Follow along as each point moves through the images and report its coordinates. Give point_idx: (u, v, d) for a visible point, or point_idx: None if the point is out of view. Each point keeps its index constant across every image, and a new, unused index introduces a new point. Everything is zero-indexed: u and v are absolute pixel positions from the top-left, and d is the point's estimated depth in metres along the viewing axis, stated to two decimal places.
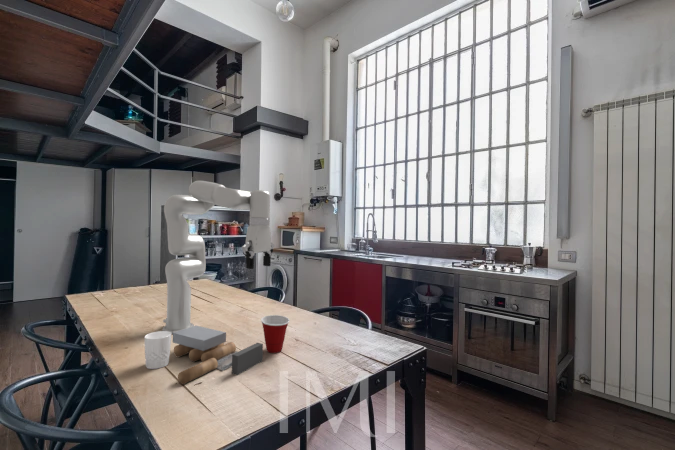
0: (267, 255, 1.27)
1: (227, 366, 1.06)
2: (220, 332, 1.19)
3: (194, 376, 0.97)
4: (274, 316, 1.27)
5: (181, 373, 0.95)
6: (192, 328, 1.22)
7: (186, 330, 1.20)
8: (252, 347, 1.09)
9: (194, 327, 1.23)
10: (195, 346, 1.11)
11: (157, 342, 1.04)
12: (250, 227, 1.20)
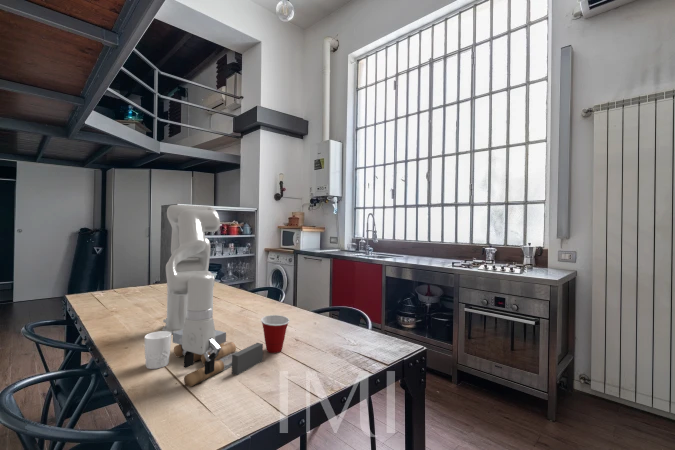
0: (190, 352, 1.03)
1: (227, 366, 1.06)
2: (220, 332, 1.19)
3: None
4: (274, 316, 1.27)
5: (189, 385, 0.94)
6: None
7: None
8: (252, 347, 1.09)
9: None
10: None
11: (157, 342, 1.04)
12: (209, 322, 0.98)
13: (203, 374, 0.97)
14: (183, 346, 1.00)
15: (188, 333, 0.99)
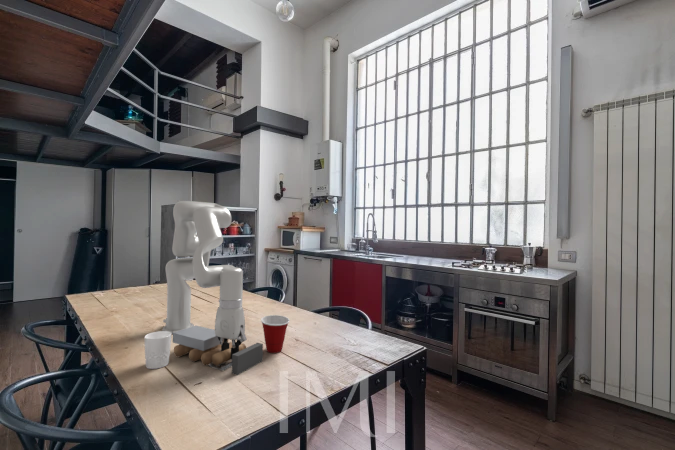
0: (226, 343, 1.12)
1: (227, 366, 1.06)
2: None
3: None
4: (274, 316, 1.27)
5: (218, 361, 1.05)
6: (192, 328, 1.22)
7: (186, 330, 1.20)
8: (252, 347, 1.09)
9: (194, 327, 1.23)
10: (195, 346, 1.11)
11: (157, 342, 1.04)
12: (240, 311, 1.08)
13: (226, 351, 1.09)
14: (216, 332, 1.10)
15: (221, 321, 1.09)
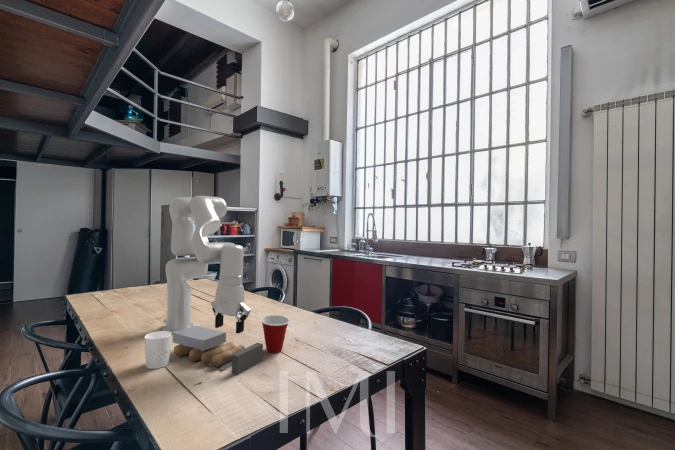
0: (220, 314, 1.14)
1: (227, 366, 1.06)
2: (220, 332, 1.19)
3: None
4: (274, 316, 1.27)
5: (217, 362, 1.05)
6: (192, 328, 1.22)
7: (186, 330, 1.20)
8: (252, 347, 1.09)
9: (194, 327, 1.23)
10: (195, 346, 1.11)
11: (157, 342, 1.04)
12: (240, 288, 1.09)
13: (224, 352, 1.09)
14: (216, 309, 1.10)
15: (221, 297, 1.09)
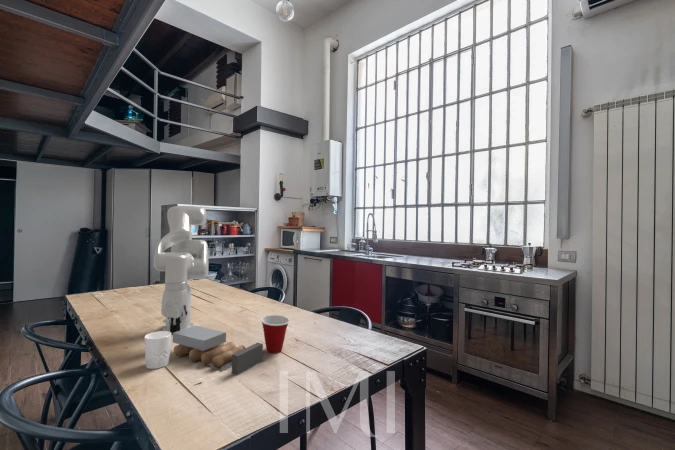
0: None
1: (227, 366, 1.06)
2: (220, 332, 1.19)
3: None
4: (274, 316, 1.27)
5: (218, 363, 1.05)
6: (192, 328, 1.22)
7: (186, 330, 1.20)
8: (252, 347, 1.09)
9: (194, 327, 1.23)
10: (195, 346, 1.11)
11: (157, 342, 1.04)
12: (183, 292, 1.21)
13: (226, 353, 1.09)
14: (162, 312, 1.23)
15: (166, 301, 1.22)
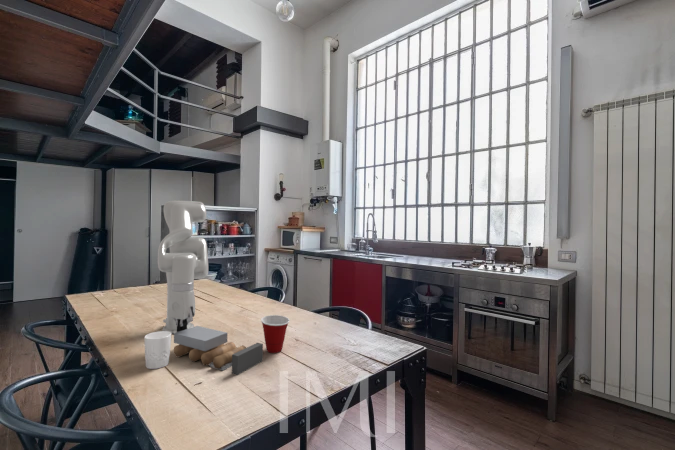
0: None
1: (227, 366, 1.06)
2: (221, 332, 1.18)
3: None
4: (274, 316, 1.27)
5: (219, 365, 1.05)
6: (193, 328, 1.22)
7: (187, 330, 1.19)
8: (252, 347, 1.09)
9: (195, 327, 1.23)
10: (196, 346, 1.11)
11: (157, 342, 1.04)
12: (190, 293, 1.20)
13: (227, 354, 1.08)
14: (169, 313, 1.21)
15: (173, 302, 1.20)
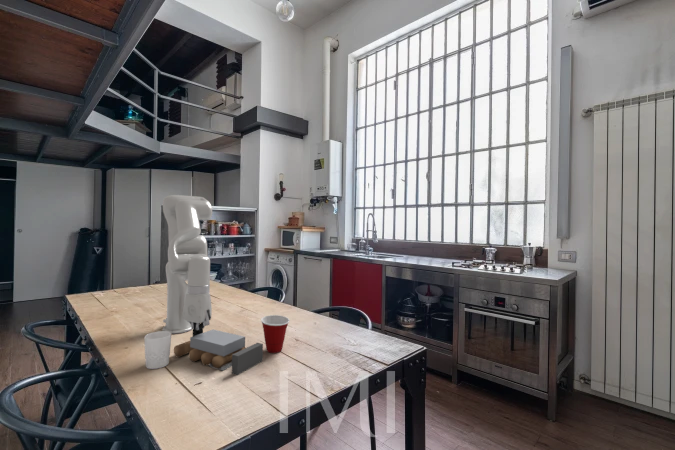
0: None
1: (227, 366, 1.06)
2: (239, 336, 1.14)
3: None
4: (274, 316, 1.27)
5: (218, 364, 1.05)
6: (209, 332, 1.18)
7: (204, 334, 1.15)
8: (252, 347, 1.09)
9: (211, 331, 1.19)
10: (214, 351, 1.07)
11: (157, 342, 1.04)
12: (206, 296, 1.16)
13: None
14: (184, 317, 1.17)
15: (188, 305, 1.16)
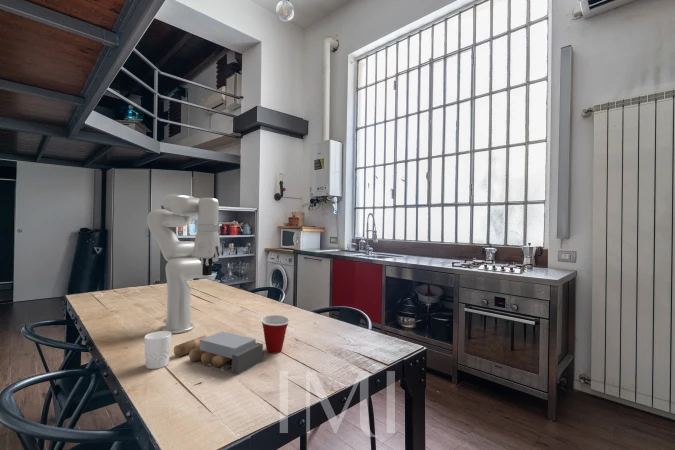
0: None
1: (227, 366, 1.06)
2: (249, 338, 1.12)
3: None
4: (274, 316, 1.27)
5: (218, 363, 1.05)
6: (219, 334, 1.16)
7: (213, 337, 1.13)
8: (252, 347, 1.09)
9: (221, 333, 1.17)
10: (225, 354, 1.05)
11: (157, 342, 1.04)
12: (215, 234, 1.25)
13: None
14: (195, 253, 1.27)
15: (199, 243, 1.26)
